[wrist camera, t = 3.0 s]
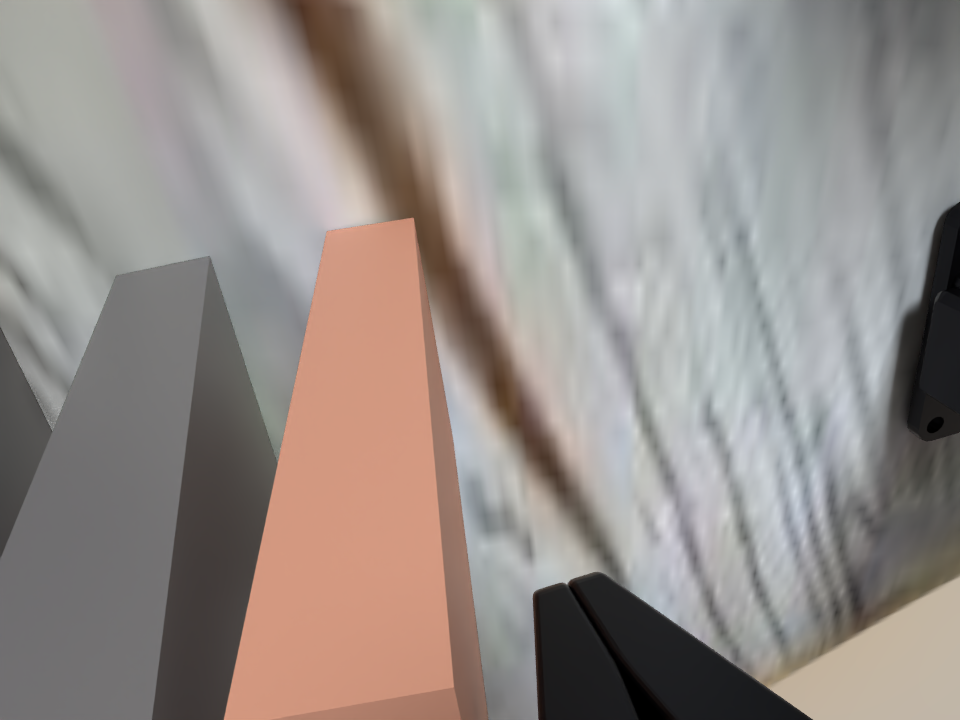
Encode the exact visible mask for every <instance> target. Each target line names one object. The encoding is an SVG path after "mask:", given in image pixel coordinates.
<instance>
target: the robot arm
mask: <svg viewBox="0 0 960 720" xmlns="http://www.w3.org/2000/svg"><path fill="white" fill-rule="evenodd" d="M907 425H908V429H909V430H910V432H912V433H913V434H915V435H916V436H917V437H919V438H920V439H922V440H924V441H932V440H936V439H939V438H942V437H946V436H949V435H952V434H956V433H959V432H960V202H959V203H958V204H956V205H955V206H954V207H953V208H952V209H951V211H950V212H949V214H948V215H947V218H946V221H945V223H944V228H943V234H942V239H941V244H940V250H939V255H938V260H937V266H936V271H935V276H934V282H933V287H932V293H931V298H930V303H929V309H928V314H927V319H926V325H925V330H924V335H923V341H922V346H921V352H920V357H919V362H918V368H917V373H916V378H915V384H914V389H913V395H912V400H911V405H910V411H909V416H908V421H907ZM533 612H534V633H535V655H536V676H537V697H538V719H539V720H813V719H811V718H810V717H808V716H807V715H805V714H804V713H802V712H801V711H800V710H798V709H797V708H795V707H794V706H793V705H791V704H790V703H788V702H787V701H785V700H784V699H783V698H781V697H780V696H778V695H777V694H775V693H774V692H773V691H771V690H770V689H768V688H767V687H765V686H764V685H763V684H761V683H760V682H758V681H757V680H755V679H754V678H753V677H751V676H750V675H748V674H747V673H745V672H744V671H743V670H741V669H740V668H738V667H737V666H736V665H734V664H733V663H731V662H730V661H728V660H727V659H726V658H724V657H723V656H721V655H720V654H718V653H717V652H716V651H714V650H713V649H711V648H710V647H708V646H707V645H706V644H704V643H703V642H701V641H700V640H698V639H697V638H696V637H694V636H693V635H691V634H690V633H688V632H687V631H686V630H684V629H683V628H681V627H680V626H678V625H677V624H676V623H674V622H673V621H671V620H670V619H668V618H667V617H666V616H664V615H663V614H661V613H660V612H658V611H657V610H656V609H654V608H653V607H651V606H650V605H648V604H647V603H646V602H644V601H643V600H641V599H640V598H638V597H637V596H636V595H634V594H633V593H631V592H630V591H628V590H627V589H626V588H624V587H623V586H621V585H620V584H618V583H617V582H616V581H614V580H613V579H611V578H610V577H608V576H607V575H605V574H604V573H601V572H594V573H590V574H587V575H584V576H581V577H577V578H574V579H572V580H570V581H569V582H568V585H567V584H565V583H558V584H555V585H552V586H548V587H545V588H542V589H539V590H536V591H535V592H534V594H533Z"/></svg>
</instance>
